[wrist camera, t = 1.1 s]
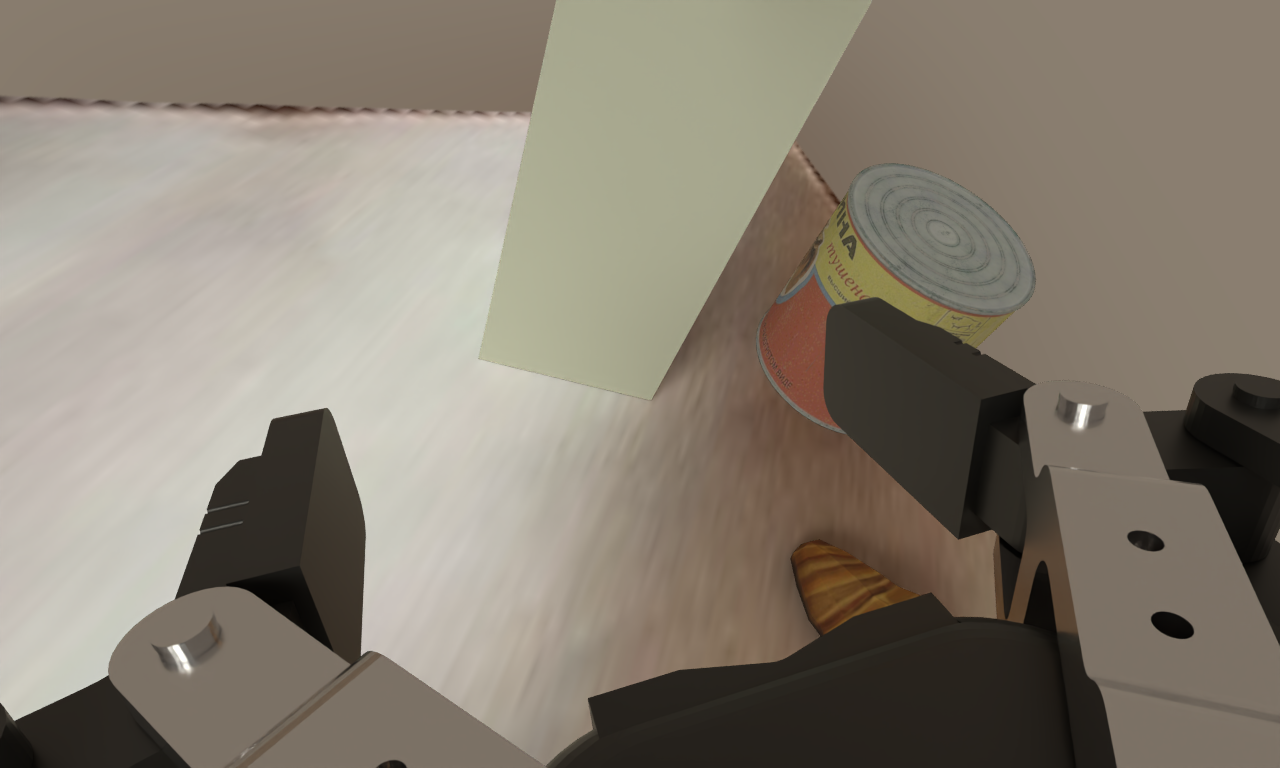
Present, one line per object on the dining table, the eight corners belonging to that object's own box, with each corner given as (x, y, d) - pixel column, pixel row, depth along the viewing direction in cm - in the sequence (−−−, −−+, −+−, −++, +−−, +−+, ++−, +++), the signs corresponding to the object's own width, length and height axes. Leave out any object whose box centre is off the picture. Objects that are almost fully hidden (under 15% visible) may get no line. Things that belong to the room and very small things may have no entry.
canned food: (793, 275, 54) (884, 137, 44) (927, 363, 52) (1050, 240, 43) (728, 364, 46) (820, 222, 37) (881, 469, 45) (1016, 349, 36)
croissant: (999, 763, 37) (1075, 742, 33) (913, 843, 33) (987, 831, 29) (834, 529, 42) (883, 488, 38) (746, 577, 38) (789, 537, 34)
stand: (664, 448, 41) (1123, -275, 17) (447, 397, 39) (611, -528, 14) (674, 273, 50) (986, -373, 25) (497, 223, 47) (652, -540, 23)
